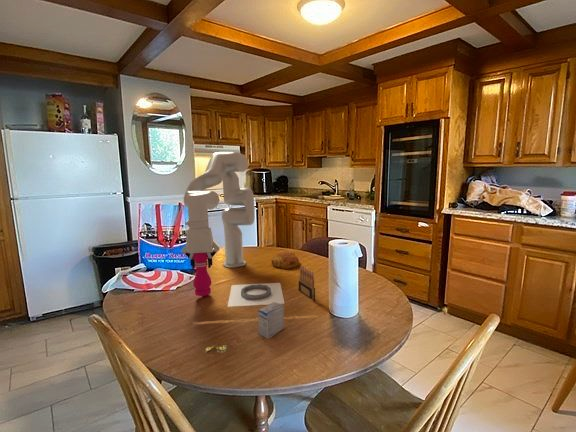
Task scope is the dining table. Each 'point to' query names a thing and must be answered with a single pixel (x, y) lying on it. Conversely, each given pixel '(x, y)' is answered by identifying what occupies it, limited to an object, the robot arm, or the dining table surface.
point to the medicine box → (271, 319)
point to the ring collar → (256, 297)
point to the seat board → (238, 300)
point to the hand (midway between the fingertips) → (201, 266)
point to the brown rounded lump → (285, 260)
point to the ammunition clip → (306, 283)
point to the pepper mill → (201, 275)
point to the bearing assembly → (221, 349)
